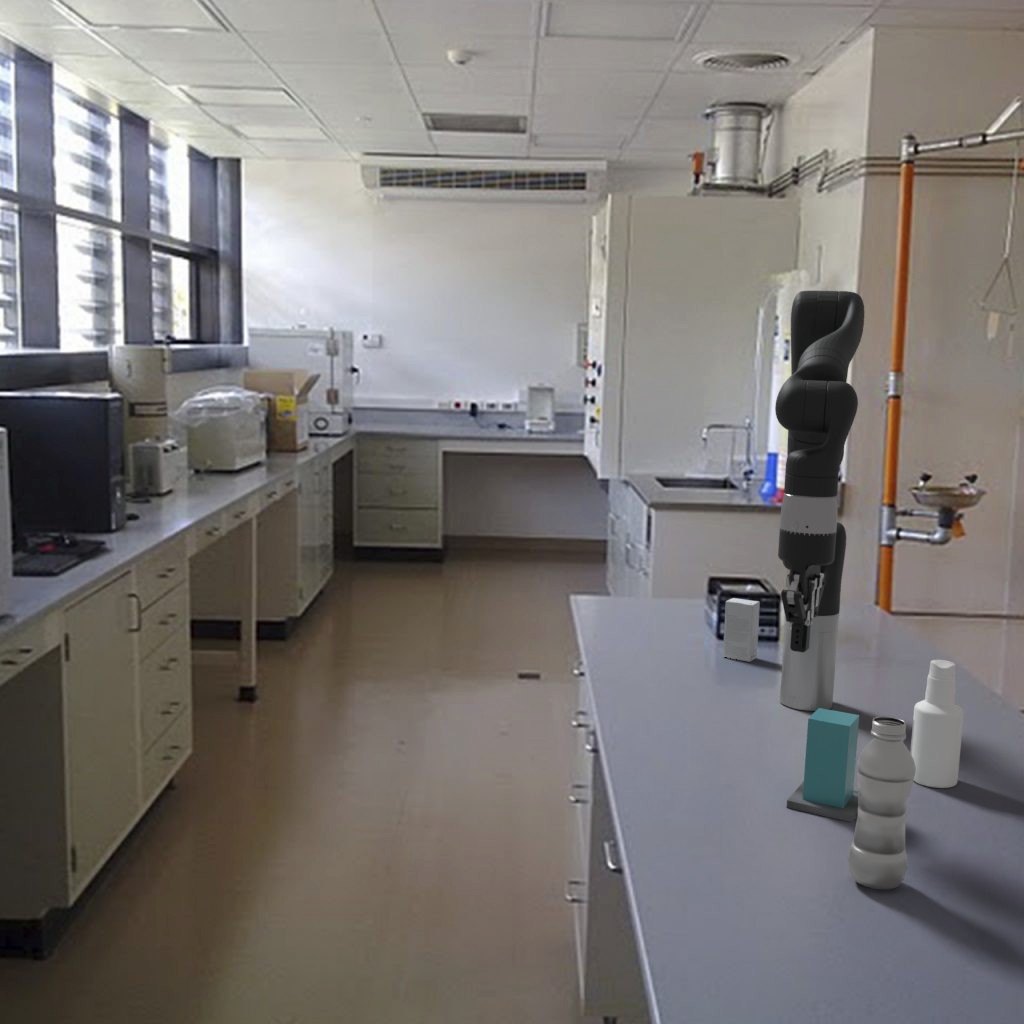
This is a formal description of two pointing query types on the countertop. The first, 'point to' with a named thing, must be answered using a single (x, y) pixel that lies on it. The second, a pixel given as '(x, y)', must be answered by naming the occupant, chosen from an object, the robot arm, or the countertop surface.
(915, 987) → the countertop surface
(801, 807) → the post
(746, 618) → the skincare box
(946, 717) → the spray bottle
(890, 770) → the plastic bottle
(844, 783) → the teal pillar
